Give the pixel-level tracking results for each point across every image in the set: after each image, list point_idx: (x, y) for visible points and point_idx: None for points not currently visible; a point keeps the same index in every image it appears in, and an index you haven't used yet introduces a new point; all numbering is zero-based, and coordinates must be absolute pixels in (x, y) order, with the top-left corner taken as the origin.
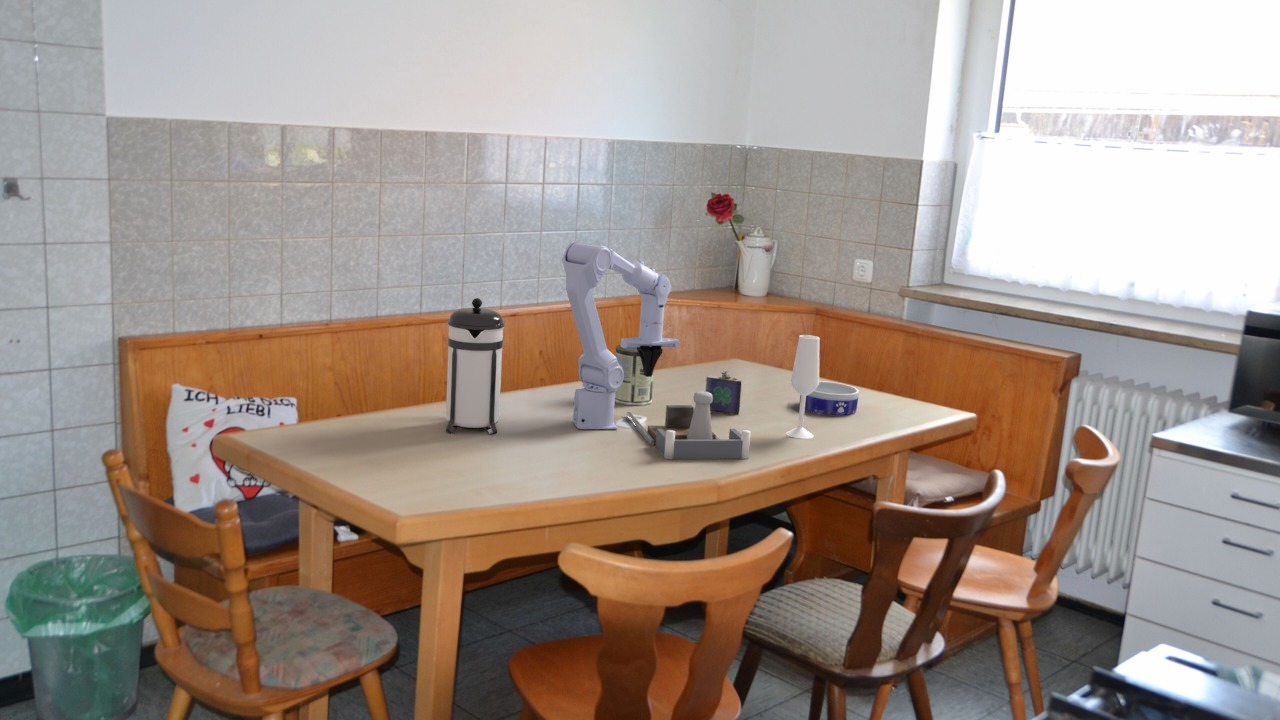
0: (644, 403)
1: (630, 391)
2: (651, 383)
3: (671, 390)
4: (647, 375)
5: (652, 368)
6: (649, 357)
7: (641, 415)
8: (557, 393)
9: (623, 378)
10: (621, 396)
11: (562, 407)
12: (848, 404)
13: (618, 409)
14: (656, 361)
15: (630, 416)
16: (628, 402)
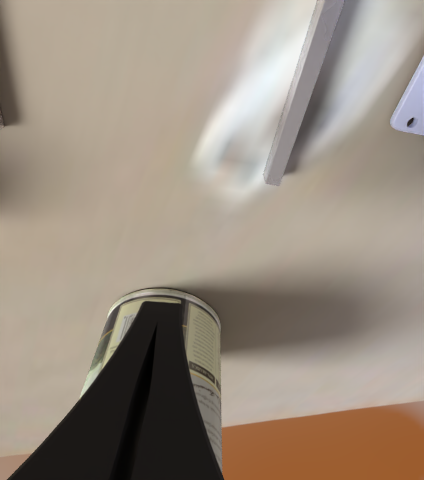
0: (143, 293)
1: (189, 332)
2: (99, 358)
3: (29, 375)
4: (175, 308)
5: (130, 350)
6: (157, 474)
7: (204, 184)
8: (326, 387)
9: (209, 385)
10: (212, 328)
11: (411, 303)
12: None
13: (252, 263)
14: (73, 414)
15: (304, 113)
16: (195, 302)
